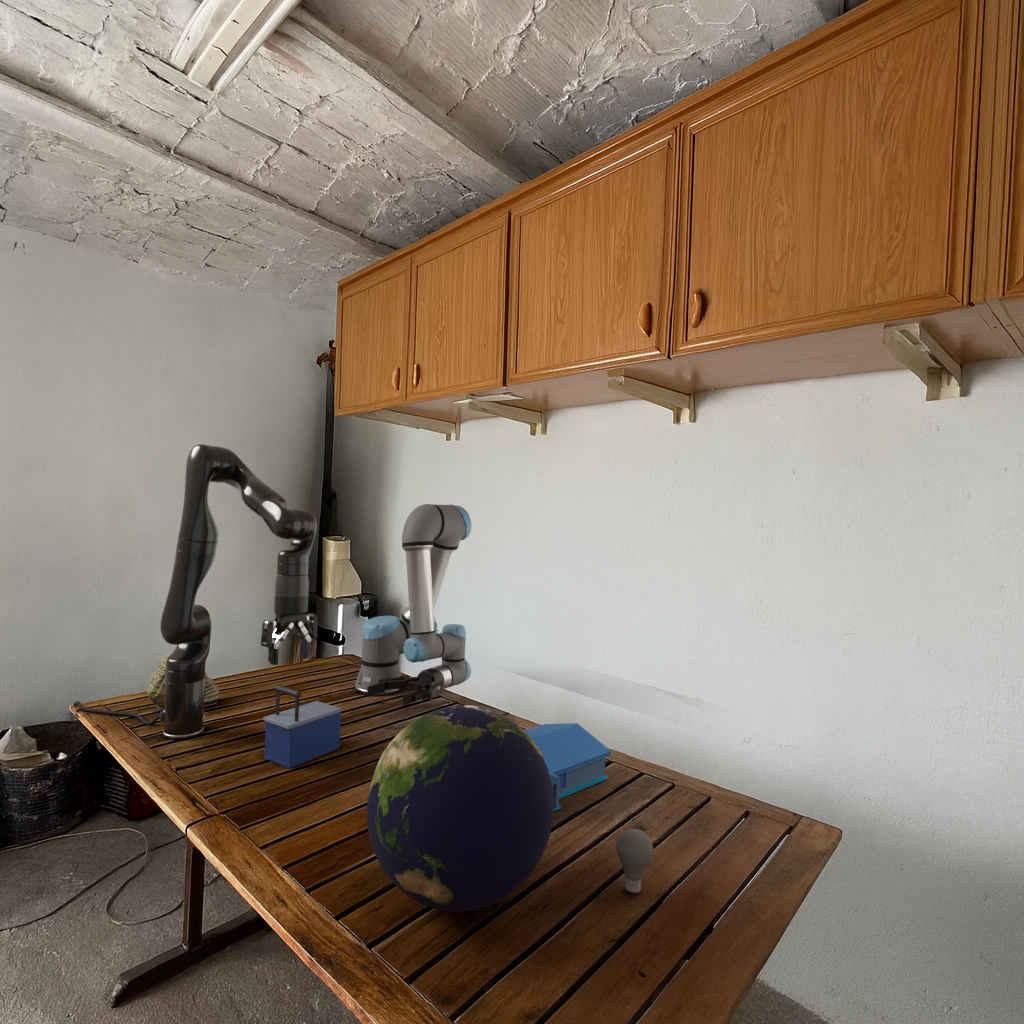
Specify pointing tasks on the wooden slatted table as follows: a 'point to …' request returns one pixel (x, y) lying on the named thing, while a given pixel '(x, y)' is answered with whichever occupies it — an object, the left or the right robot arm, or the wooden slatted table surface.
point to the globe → (460, 808)
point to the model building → (570, 757)
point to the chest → (302, 740)
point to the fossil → (158, 687)
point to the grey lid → (298, 710)
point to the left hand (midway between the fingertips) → (289, 660)
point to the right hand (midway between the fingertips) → (385, 695)
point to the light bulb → (634, 857)
